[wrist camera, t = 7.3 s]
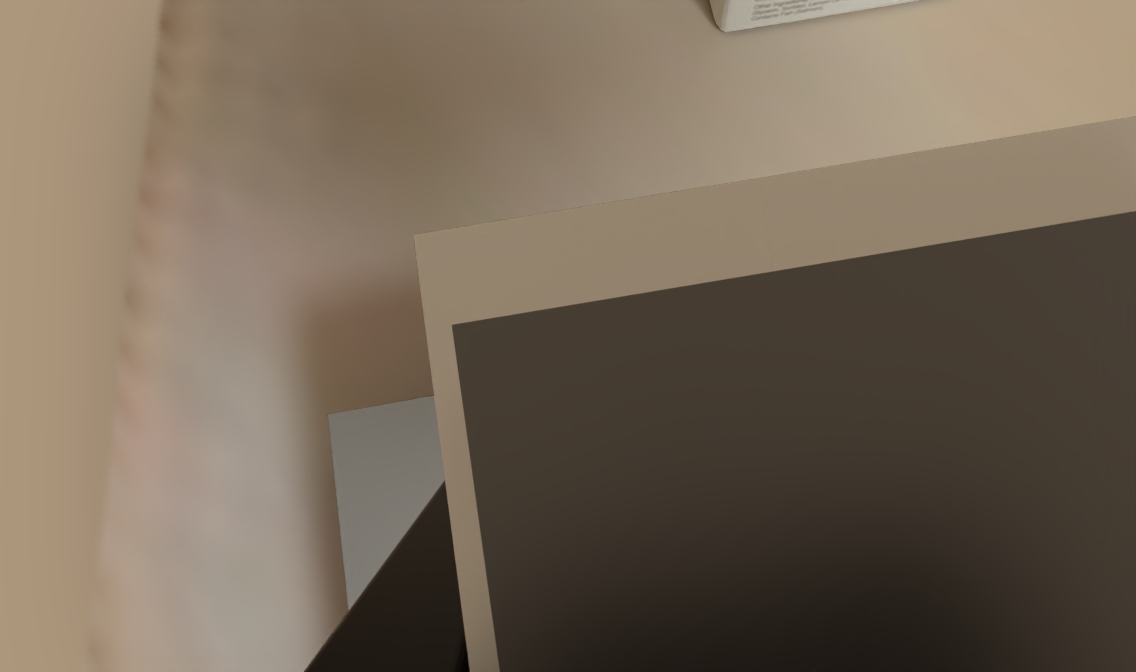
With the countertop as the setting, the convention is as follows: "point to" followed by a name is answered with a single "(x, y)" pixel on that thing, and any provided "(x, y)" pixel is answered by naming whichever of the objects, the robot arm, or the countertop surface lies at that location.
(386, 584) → the robot arm
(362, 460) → the block
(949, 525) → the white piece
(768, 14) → the supplement box
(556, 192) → the countertop surface
